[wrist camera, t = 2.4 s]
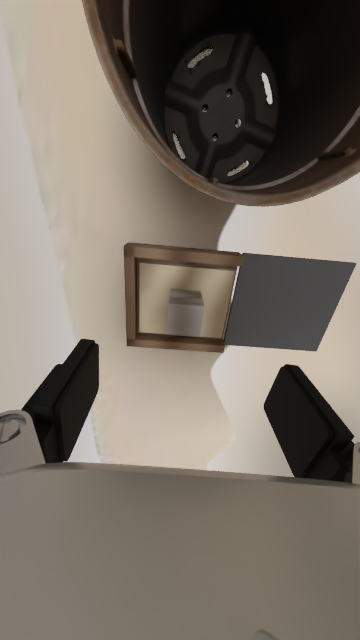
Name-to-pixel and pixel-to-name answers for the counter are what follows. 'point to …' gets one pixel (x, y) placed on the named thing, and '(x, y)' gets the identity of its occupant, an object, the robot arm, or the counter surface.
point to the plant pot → (239, 90)
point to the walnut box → (176, 256)
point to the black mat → (285, 301)
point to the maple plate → (185, 280)
